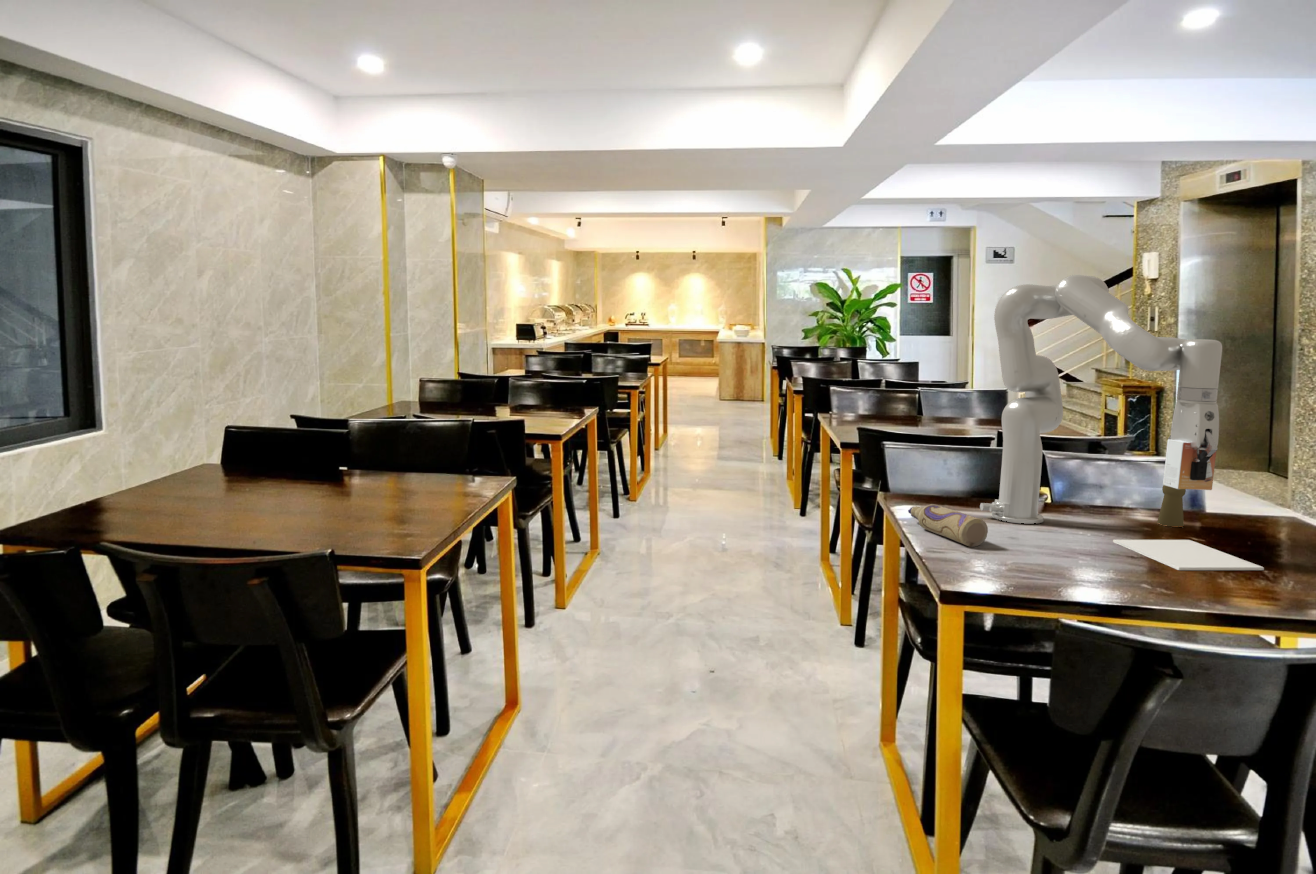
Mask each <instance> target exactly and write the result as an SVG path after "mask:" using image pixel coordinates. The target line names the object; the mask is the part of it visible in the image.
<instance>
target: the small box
mask: <svg viewBox="0 0 1316 874" xmlns="http://www.w3.org/2000/svg"><path fill="white" fill-rule="evenodd" d="M1200 447H1204V445H1201V446H1200ZM1193 449H1194V448H1192V447H1191V443H1190V442H1186V441H1181V440H1171V439H1168V438H1167V443H1166V452H1165V462H1164V470H1163V471H1164V472H1163V480H1162V486H1163V485H1165V486H1169V487H1172V488H1176V489H1186V490H1201V491H1212V490H1213V484H1214V475H1215V467H1216V457H1217V451H1216V452H1215V453H1214V454H1213V455H1212V457H1211V458H1210V461H1209V462H1207V472H1206V479H1205V480H1191V479H1190V473H1191V464H1192V462H1195V461H1194V456H1193ZM1202 452H1203V451H1199V455H1200V454H1201V453H1202Z"/></svg>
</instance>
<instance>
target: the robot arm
mask: <svg viewBox="0 0 1316 874" xmlns="http://www.w3.org/2000/svg"><path fill="white" fill-rule="evenodd" d="M1129 311H1130V310H1129V307H1128V305H1127V304H1126V303H1125V302H1124V301H1122V300H1121V299H1119V298H1117V297H1116V296H1114V295H1112V294H1111V293H1110V291H1109V287H1108V286H1107V284H1106V282H1104V281H1103V279H1101V278H1099V277H1096V276H1092V275H1082V274H1074V275H1073V274H1072V275H1069V276H1067V277H1064V278H1062V279H1061V280H1060V281H1059V282H1058V284H1054V285H1041V284H1040V285H1039V284H1030V283H1029V284H1019V285H1016V286H1014V287H1012V288H1009V289H1008V290H1007V291H1005V292H1004V293H1003V295H1002V294H1001V296H1000V297H999V299H998V301H997V303H996V306H995V309H994V313H993V314H994V317H993V318H994V319H993V320H994V326H995V332H996V337H997V342H998V353H999V361H1000V369H1001V377H1002V382H1003V385H1004V386H1005V388H1006V389H1007V390H1008V391H1010V392H1014V393H1024V396H1025V397H1018V398H1015V399H1013V400H1011V401H1010V402H1008V403H1007V404H1006V405H1005V407H1004V408H1003V410H1002V413H1001V431H1002V452H1001V453H1002V455H1001V469H1000V479H999V483H1000V484H999V493H998V494H999V496H998V499H995V498H994V501H992V502H991V503H988V502H986V503H985V502H980V505H979V509H980V511H987V512H988V511H989V512H991V515H992V516H991V517H992V518H993V519H995V520H998V519H999V521H1001V520H1002V522H1006V521H1007V523H1014V524H1021V523H1024V524H1023V525H1025V524H1027V525H1030V524H1031V525H1034V523H1036V524H1040V523H1043V522H1045V521H1044V520H1045V517H1044V516H1043V515H1042V514H1040V513H1039V501H1040V489H1041V487H1040V486H1041V476H1042V465H1043V444H1042V439H1041V434H1045V433H1051V432H1053V431H1054V430H1056V429H1058V427H1059V426H1060V425H1061V424H1062V421H1063V417H1064V407H1063V399H1062V392H1061V383H1060V376H1059V372H1058V368H1057V367H1056V365H1055V363H1054V362H1053V361H1052V360H1051V359H1050V358H1048V357H1047V356H1044V355H1038V354H1037V353H1036V348H1035V338H1034V335H1033V332H1032V330H1031V327H1030V326H1029V324H1028V323H1029V322H1028V320H1030V319H1034V320H1050V319H1051V320H1053V319H1057V318H1062V317H1064V318H1065V317H1069V316H1074V317H1075V318H1077V319H1078V320H1080V321H1082V323H1084V324H1086V325H1087V326H1088V327H1090V328H1091V329H1092V330H1094V331H1096V332H1097V333H1098V334H1100V335H1101V337H1102V339H1103V340H1104V341H1105V342H1106V344H1107V345H1108V346H1109V347H1110V348H1111V349H1112V350H1113V351H1115V353H1117V354H1118V355H1120V357H1123V358H1124V359H1125V360H1126V361H1128V362H1130V364H1132V365H1134V366H1135V367H1137V368H1139V369H1140V370H1144V371H1148V372H1159V371H1161V372H1165V371H1167V372H1168V371H1169V372H1170V371H1179V372H1178V382H1177V383H1178V384H1177V392H1176V403H1175V407H1174V410H1173V415H1172V419H1171V420H1172V422H1171V428H1170V435H1169V436H1168V438H1167V440H1168V439H1171V440H1181V441H1186V442H1190V443H1191V447H1192V448H1194V449H1193V456H1194V461H1195V462H1192V464H1191V473H1190V479H1191V480H1205V479H1206V472H1207V462H1209V461H1210V458H1211V457H1212V455H1213V454H1214V453H1215V452H1216V453H1217V451H1218V445H1219V437H1220V436H1219V434H1220V431H1219V430H1220V413H1219V412H1220V411H1219V404H1218V403H1217V402H1218V401H1217V400H1218V394H1219V393H1218V392H1219V391H1218V390H1219V384H1220V383H1219V382H1220V374H1221V373H1220V372H1221V364H1222V363H1221V362H1222V354H1223V344H1222V342H1221V341H1219V340H1217V339H1206V338H1205V339H1204V338H1203V339H1202V338H1201V339H1200V338H1198V339H1197V338H1195V339H1194V338H1190V339H1185V338H1178V337H1170V336H1169V337H1168V336H1156V335H1153V334H1152V333H1151V332H1148V331H1147V330H1145V329H1144V328H1143V327H1141V326H1140V325H1138V324H1137V323H1136V322H1135V321H1134V320H1132V318H1131V317H1130V315H1129ZM1201 445H1204V447H1200V446H1201ZM1199 451H1203V452H1202V453H1201V454H1200V455H1199Z"/></svg>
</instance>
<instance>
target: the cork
mask: <svg viewBox="0 0 1316 874" xmlns="http://www.w3.org/2000/svg"><path fill="white" fill-rule="evenodd" d="M1186 490H1187V489H1176V488H1172V487H1169V486H1165V485H1163V484H1162V493H1163V497H1162V498H1163V499H1162V502H1161V506H1160V510H1159V514H1158V518H1157V521H1156V524H1157V523H1160V524H1162V525H1167V526H1178V527H1179V526H1184V525H1185V523H1184V504H1183V503H1184V502H1183V501H1184V500H1183V499H1184V498H1183V497H1184V496H1185V495H1186V492H1187V491H1186ZM1184 527H1185V526H1184Z"/></svg>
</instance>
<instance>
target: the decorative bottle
mask: <svg viewBox="0 0 1316 874" xmlns="http://www.w3.org/2000/svg"><path fill="white" fill-rule="evenodd" d="M907 512H908V514H910V516H911V517H912V518H915V519H916V520H917V521H918V524H919V525H920V527H921V528H923V530H926V531H929V532H931V533H933V534H936V535H938V536H939V535H940V536H942V537H944V538H946V539H948V540H952V541H955V542H957V543H960V544H962V545H965V546H967V547H969V548H972V547H974V548H975V547H978V546H979V545H981V544H982V543H984V542H985V541H986V540H987V536H988V533H989V530H988V529H989V528H988V525H987V523H986V521H985V520H983V519H981V518H979V517H975V516H972V515H969V514H966V513H963V512H960V511H957V510H954V509H950V508H947V507H944V506H941V505H940V504H939V505H938V504H934V503H931V504H928V505H925V506H921V507H920V506H917V505H915V506H911V507H910V508H909V509H908V511H907Z"/></svg>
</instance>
